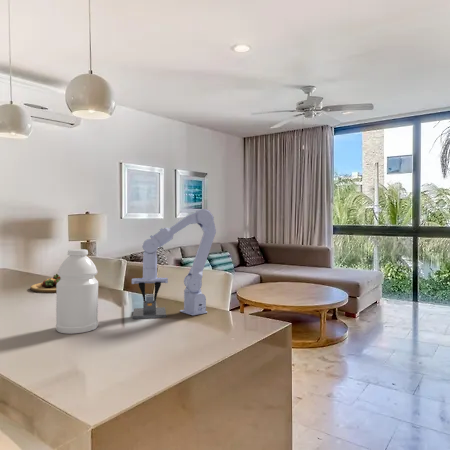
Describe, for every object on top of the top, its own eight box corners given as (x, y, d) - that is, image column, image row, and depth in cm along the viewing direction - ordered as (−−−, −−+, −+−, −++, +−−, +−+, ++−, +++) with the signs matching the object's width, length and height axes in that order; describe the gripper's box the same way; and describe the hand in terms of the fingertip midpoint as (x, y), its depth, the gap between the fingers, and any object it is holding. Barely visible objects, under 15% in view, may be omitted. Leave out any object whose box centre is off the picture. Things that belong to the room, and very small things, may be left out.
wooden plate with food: (36, 285, 222) (36, 271, 222) (92, 283, 232) (92, 270, 232) (24, 295, 192) (24, 279, 192) (89, 292, 201) (89, 277, 201)
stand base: (165, 310, 159) (165, 298, 159) (166, 317, 147) (166, 304, 146) (134, 311, 157) (134, 299, 157) (132, 319, 144) (132, 305, 144)
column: (153, 310, 153) (153, 294, 153) (153, 312, 150) (153, 295, 150) (145, 310, 153) (146, 294, 153) (145, 312, 150) (145, 295, 150)
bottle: (57, 325, 135) (58, 248, 135) (97, 321, 139) (98, 248, 139) (54, 336, 121) (55, 251, 121) (98, 332, 126) (99, 250, 126)
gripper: (131, 269, 146) (131, 303, 146) (168, 268, 149) (167, 302, 149) (132, 267, 153) (132, 299, 153) (167, 266, 156) (167, 298, 156)
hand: (149, 300), depth 152 cm, fingers open, 4 cm apart
